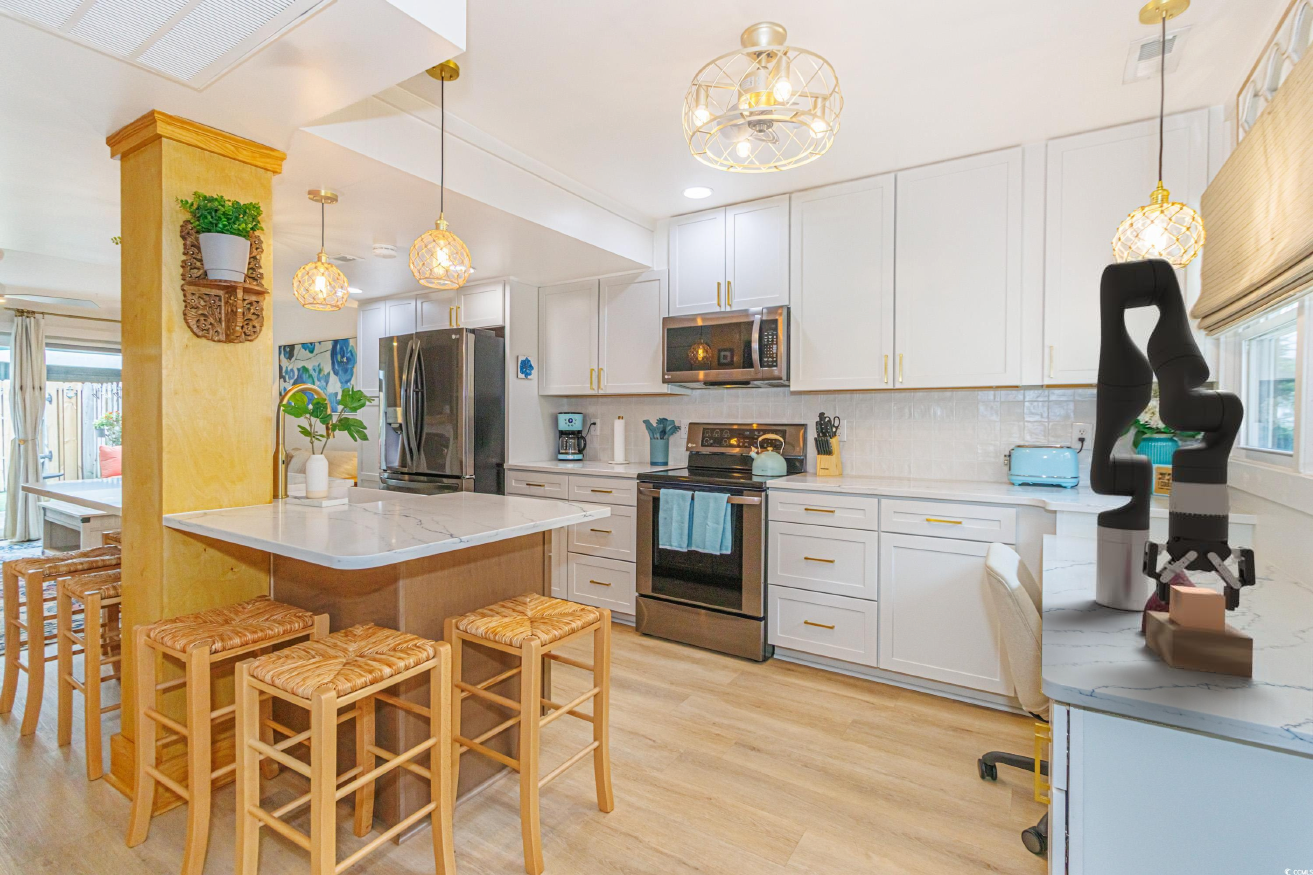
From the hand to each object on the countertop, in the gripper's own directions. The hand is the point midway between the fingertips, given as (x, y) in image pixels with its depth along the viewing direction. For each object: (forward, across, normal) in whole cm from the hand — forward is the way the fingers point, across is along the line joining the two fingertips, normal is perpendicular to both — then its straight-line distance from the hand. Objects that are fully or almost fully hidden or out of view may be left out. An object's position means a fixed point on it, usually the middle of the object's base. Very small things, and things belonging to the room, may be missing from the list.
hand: (1196, 606), depth 103 cm
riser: (+9, 0, 0) cm, 9 cm away
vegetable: (+9, -2, -14) cm, 17 cm away
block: (+3, 0, 0) cm, 3 cm away
